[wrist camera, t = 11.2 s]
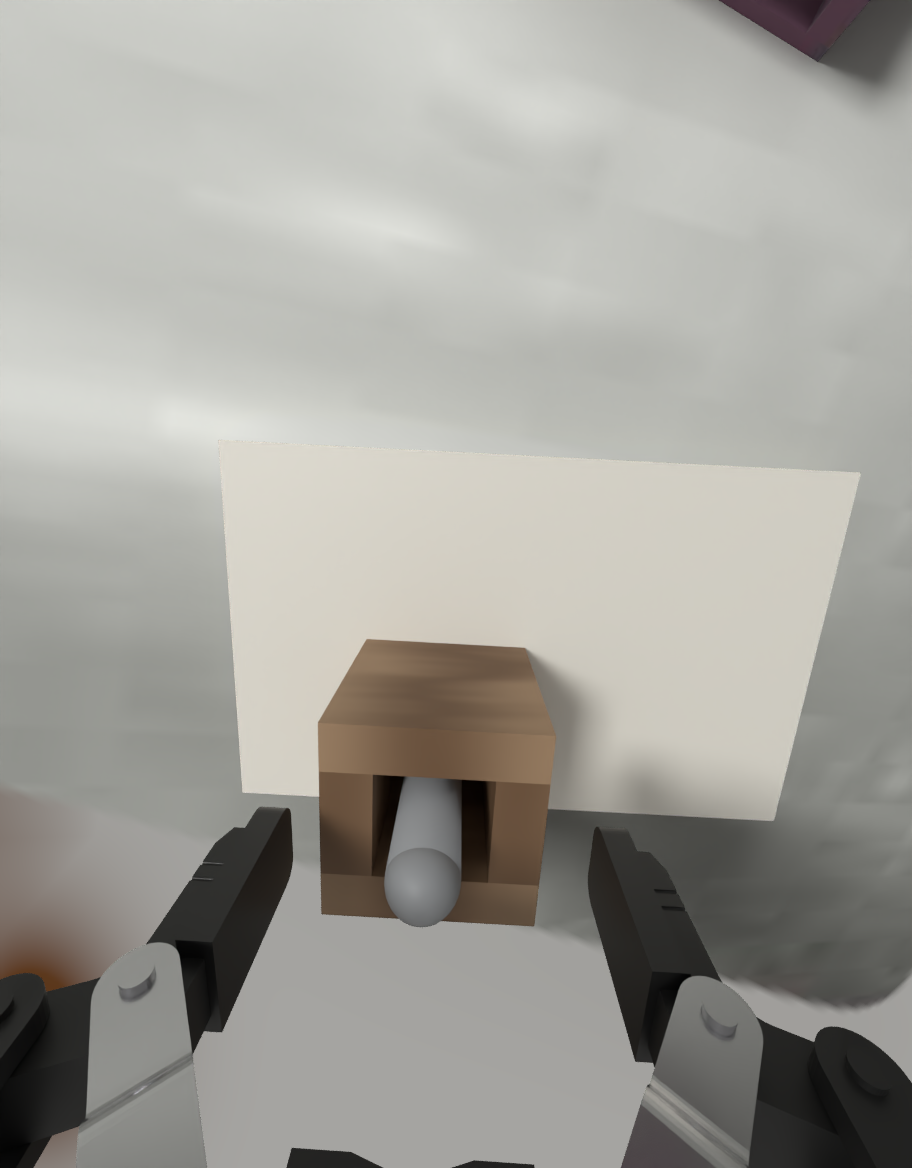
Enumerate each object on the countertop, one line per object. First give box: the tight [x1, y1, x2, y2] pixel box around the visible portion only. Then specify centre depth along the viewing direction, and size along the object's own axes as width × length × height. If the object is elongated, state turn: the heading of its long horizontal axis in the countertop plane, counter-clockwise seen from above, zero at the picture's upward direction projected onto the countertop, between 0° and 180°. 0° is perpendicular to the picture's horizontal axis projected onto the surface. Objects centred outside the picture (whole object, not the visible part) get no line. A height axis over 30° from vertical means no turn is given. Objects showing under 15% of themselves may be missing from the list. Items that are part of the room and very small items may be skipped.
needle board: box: [218, 440, 861, 927], centre depth 14 cm, size 22×14×10 cm, turn 87°
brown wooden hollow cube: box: [318, 639, 556, 926], centre depth 15 cm, size 6×6×6 cm
